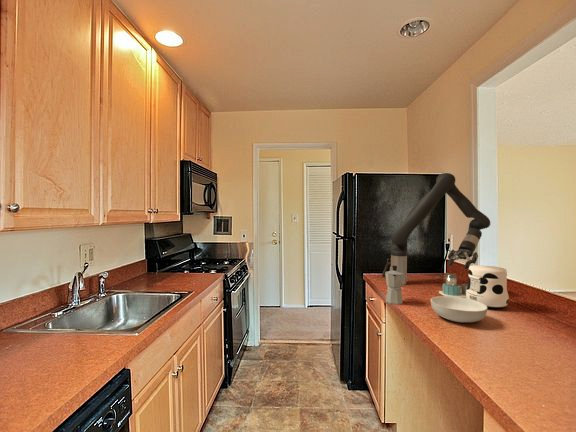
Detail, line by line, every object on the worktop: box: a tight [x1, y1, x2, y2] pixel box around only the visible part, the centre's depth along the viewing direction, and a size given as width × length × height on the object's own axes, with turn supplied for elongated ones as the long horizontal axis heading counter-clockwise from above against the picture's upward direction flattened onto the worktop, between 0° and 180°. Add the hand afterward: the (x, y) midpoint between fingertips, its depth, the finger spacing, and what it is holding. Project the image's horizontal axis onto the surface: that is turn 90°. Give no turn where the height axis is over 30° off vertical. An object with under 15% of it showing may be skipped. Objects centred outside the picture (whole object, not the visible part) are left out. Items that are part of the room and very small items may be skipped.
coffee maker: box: [385, 266, 404, 306], centre depth 157 cm, size 15×9×18 cm, turn 161°
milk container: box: [466, 264, 510, 309], centre depth 152 cm, size 17×17×18 cm
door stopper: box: [381, 258, 391, 278], centre depth 216 cm, size 9×6×12 cm, turn 72°
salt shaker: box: [445, 273, 457, 287], centre depth 169 cm, size 5×5×10 cm
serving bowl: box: [430, 295, 489, 324], centre depth 132 cm, size 21×21×7 cm
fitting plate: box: [438, 282, 468, 299], centre depth 168 cm, size 17×11×6 cm, turn 89°
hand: (457, 266), depth 172 cm, fingers open, 8 cm apart
